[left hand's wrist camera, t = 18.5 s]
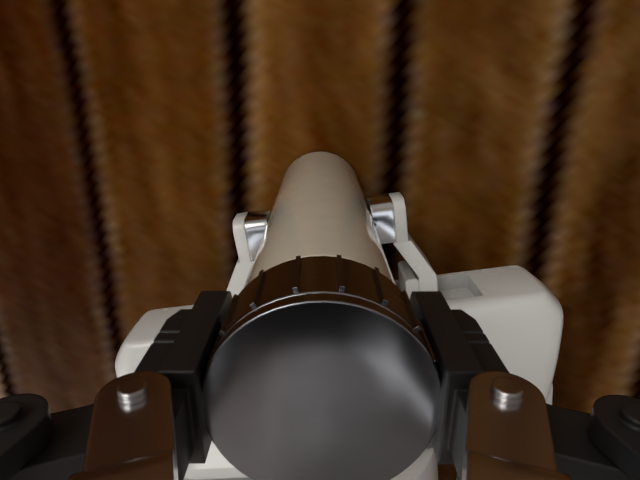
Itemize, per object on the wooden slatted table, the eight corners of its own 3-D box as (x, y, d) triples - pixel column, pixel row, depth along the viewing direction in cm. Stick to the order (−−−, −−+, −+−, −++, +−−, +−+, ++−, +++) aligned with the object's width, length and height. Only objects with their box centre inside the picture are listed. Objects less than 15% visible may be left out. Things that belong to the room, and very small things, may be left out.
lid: (229, 235, 10) (205, 278, 8) (445, 268, 10) (476, 317, 8) (212, 412, 12) (189, 485, 10) (398, 435, 12) (415, 512, 10)
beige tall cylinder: (351, 143, 25) (409, 273, 9) (365, 219, 26) (438, 448, 10) (272, 161, 25) (189, 317, 9) (291, 234, 27) (249, 480, 11)
